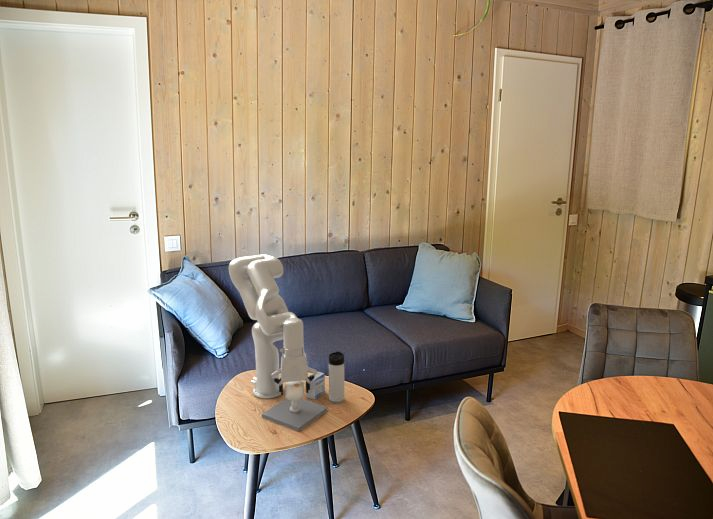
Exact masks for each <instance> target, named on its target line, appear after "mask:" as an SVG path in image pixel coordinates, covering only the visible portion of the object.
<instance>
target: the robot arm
mask: <svg viewBox="0 0 713 519" xmlns="http://www.w3.org/2000/svg"><path fill="white" fill-rule="evenodd" d="M283 274H284V266H283V263H282V262H281V260H280V259H279V258H278V257H275V256H272V255H268V254H265V253H263V254H255V255H248V256H241V257H237V258H235V259H232V260H231V261H230V263H229V264H228V275H229V277H230V281H231V282H232V284H233V286H234V287H235V289H236V290H237V291H238V293H239V295H240V297H241V300H242V302H243V305H244V308H245V310H246V312H247V316H248V317H249V318H250V319H251V320H253V321H256V322H255V323H254V324H253V325H252V327H251V335H252V338H253V343H254V344H253V346H254V354H255V356H254V358H255V375H256V376H253V377H252V380H251V381H250V384H252V385H254V387H253V388H252V394H253V395H254V396H255V397H257V398H259V399H273V398H277V397H279V396H283V395H284V383H286V382H291V381H302V382H303V381H305V394H306V393H308V390H310V383H311V381H312V380H313V379H314V377H315V375H316V374H317V372H318V371H317V369H314V368H312V367H310V366H308V358H307V354H306V352H305V348H304V342H305V341H304V322H303V320H302V319H301V318H298V316H297V315H296V314H295V313H294V312H292V311H289V308H288V306H287V305H286V302H285V301H284V299H283V297H282V296H281V295H280V294H279V292H280V288H279V286H278V284H277V281H276V280H275V279H277V278H281V277H283ZM278 341H283V344H282V345H283V347H282V348H279V349H278V348H277V346H275V344H273V343H275V342H278ZM279 353H281V358H280V354H279ZM309 373H311V374H310V375H311V376H310V375H309ZM309 376H310V377H309Z"/></svg>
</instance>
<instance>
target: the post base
mask: <svg viewBox="0 0 713 519" xmlns="http://www.w3.org/2000/svg"><path fill="white" fill-rule="evenodd" d="M328 410H329V409H328V406H326V405H325V406H324V405H322V404H319V403H316V402H314V401H311V400H308V399H305V398H302V399H300V400H296V401H292V400H288V399H286V398H285V399H283V400H282V401H280V402H278V403H277V404H275V405H274V406H272V407H271V408H269V409H267V410H266V411H264V412H262V413H261V418H262V419H265V420H268V421H270V422H273V423H275V424H277V425H281V426H283V427H285V428H287V429H288V428H289V429H290V430H293V431H296V432H300V431H302V430H303V429H304V428H306V427H307V426H309V425H310V424H311V423H313V422H315V420H317V419H318V418H320V417H321V416H323V415H324V414H326V413H327V412H328Z"/></svg>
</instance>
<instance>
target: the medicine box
mask: <svg viewBox="0 0 713 519" xmlns="http://www.w3.org/2000/svg"><path fill="white" fill-rule="evenodd" d="M311 375H312V374H310V375H308V377H310V376H311ZM325 392H326V373H324V372H321V371H317V374H316V375H315V377H314V379H313V380H312V381H311V383H310V390H308V393H306V392H305V394H306V395H305V397H306V398H308V399H311V400H316V399H318V398H319V397H320V396H322V395H323V394H324V393H325Z"/></svg>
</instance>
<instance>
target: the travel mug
mask: <svg viewBox="0 0 713 519" xmlns="http://www.w3.org/2000/svg"><path fill="white" fill-rule="evenodd" d="M328 401H329V403H331V404H332V405H333V404H335V405H340V404H342V403H344V401H345V354H344V353H343V352H341V351H337V350H336V351H335V352H332V353H329V355H328Z"/></svg>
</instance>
